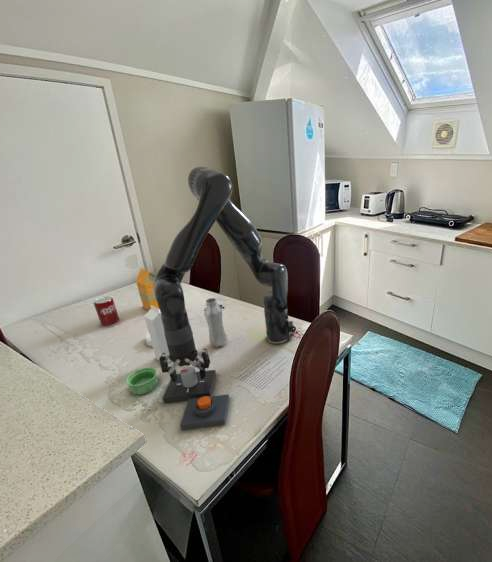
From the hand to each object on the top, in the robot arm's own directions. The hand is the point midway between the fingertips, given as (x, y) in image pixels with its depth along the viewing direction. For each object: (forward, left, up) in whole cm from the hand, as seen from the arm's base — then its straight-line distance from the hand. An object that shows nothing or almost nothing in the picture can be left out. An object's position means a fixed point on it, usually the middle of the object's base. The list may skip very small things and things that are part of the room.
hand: (189, 379), depth 102 cm
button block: (-7, +12, -4) cm, 14 cm away
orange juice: (+32, -64, -4) cm, 72 cm away
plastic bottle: (-5, -25, -4) cm, 26 cm away
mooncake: (+19, -33, -4) cm, 38 cm away
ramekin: (+16, -4, -4) cm, 17 cm away
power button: (-7, +12, 0) cm, 14 cm away
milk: (+13, -19, -4) cm, 23 cm away
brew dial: (0, 0, -2) cm, 2 cm away
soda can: (+47, -51, -4) cm, 69 cm away
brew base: (0, 0, -4) cm, 4 cm away
